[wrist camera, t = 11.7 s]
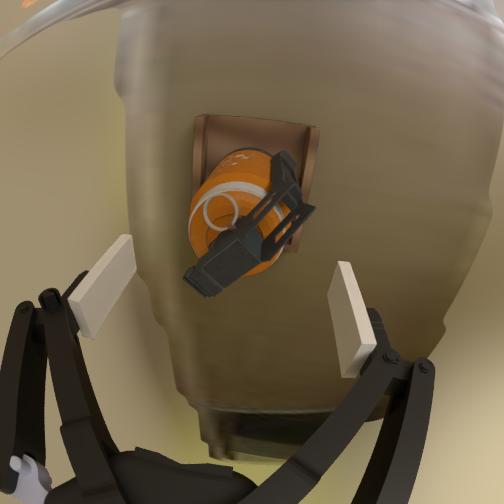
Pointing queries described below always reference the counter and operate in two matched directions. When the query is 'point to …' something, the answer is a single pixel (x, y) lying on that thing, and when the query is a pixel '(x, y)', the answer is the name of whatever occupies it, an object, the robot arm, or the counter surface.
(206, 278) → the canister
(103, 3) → the counter surface
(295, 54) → the counter surface
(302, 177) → the cradle
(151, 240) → the counter surface
